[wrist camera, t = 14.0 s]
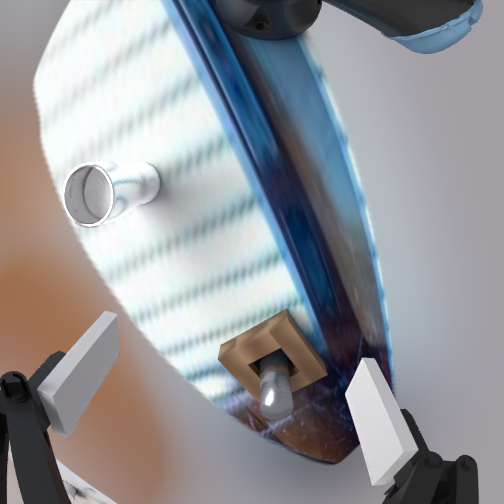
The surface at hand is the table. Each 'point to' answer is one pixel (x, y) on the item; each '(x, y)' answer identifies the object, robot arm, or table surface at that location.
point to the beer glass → (107, 190)
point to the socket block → (266, 341)
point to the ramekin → (70, 490)
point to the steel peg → (275, 386)
